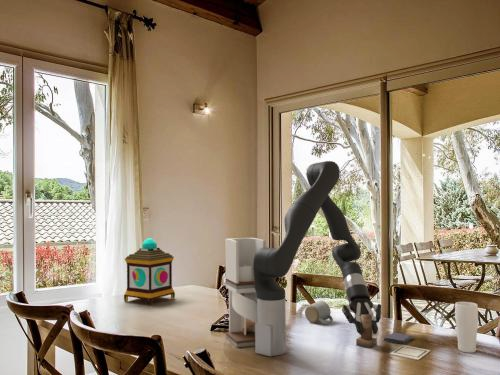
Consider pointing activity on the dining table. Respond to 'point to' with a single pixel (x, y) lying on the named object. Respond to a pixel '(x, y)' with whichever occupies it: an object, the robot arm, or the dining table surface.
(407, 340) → the ink pad
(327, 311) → the ceramic mug
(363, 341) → the stamp
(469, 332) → the drinking glass
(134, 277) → the decorative lantern
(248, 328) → the white tiered stand
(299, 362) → the dining table surface
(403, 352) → the label card
